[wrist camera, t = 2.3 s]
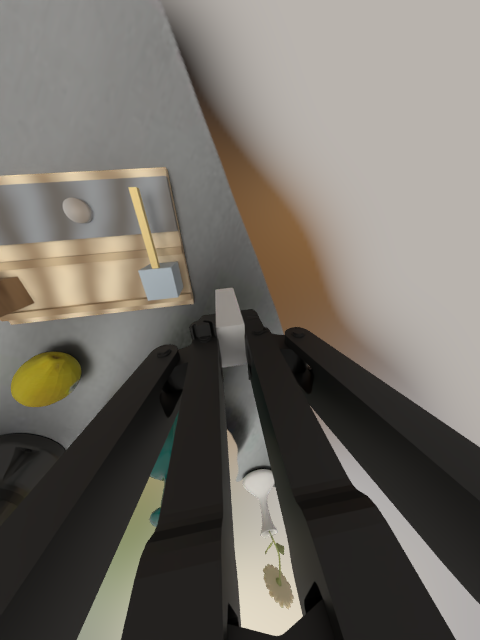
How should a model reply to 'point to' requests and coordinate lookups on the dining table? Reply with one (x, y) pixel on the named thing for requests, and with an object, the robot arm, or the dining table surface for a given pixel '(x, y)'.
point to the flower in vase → (274, 579)
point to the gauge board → (83, 243)
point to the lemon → (45, 379)
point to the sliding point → (155, 260)
